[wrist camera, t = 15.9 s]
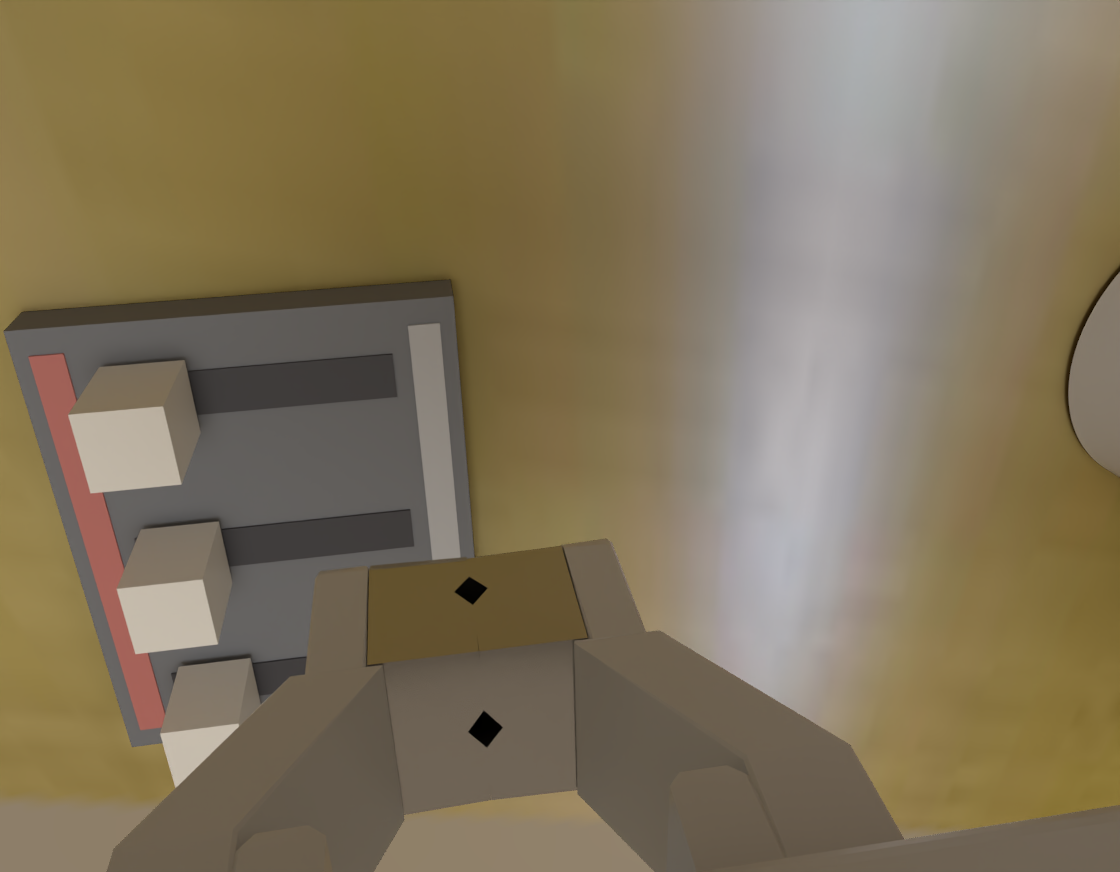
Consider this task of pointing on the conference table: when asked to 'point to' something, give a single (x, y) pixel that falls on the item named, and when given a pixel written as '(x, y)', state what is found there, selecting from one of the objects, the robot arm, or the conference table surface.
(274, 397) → the panel
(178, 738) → the block
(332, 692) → the robot arm
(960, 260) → the conference table surface
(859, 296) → the conference table surface
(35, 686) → the conference table surface
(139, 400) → the block
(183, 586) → the block
